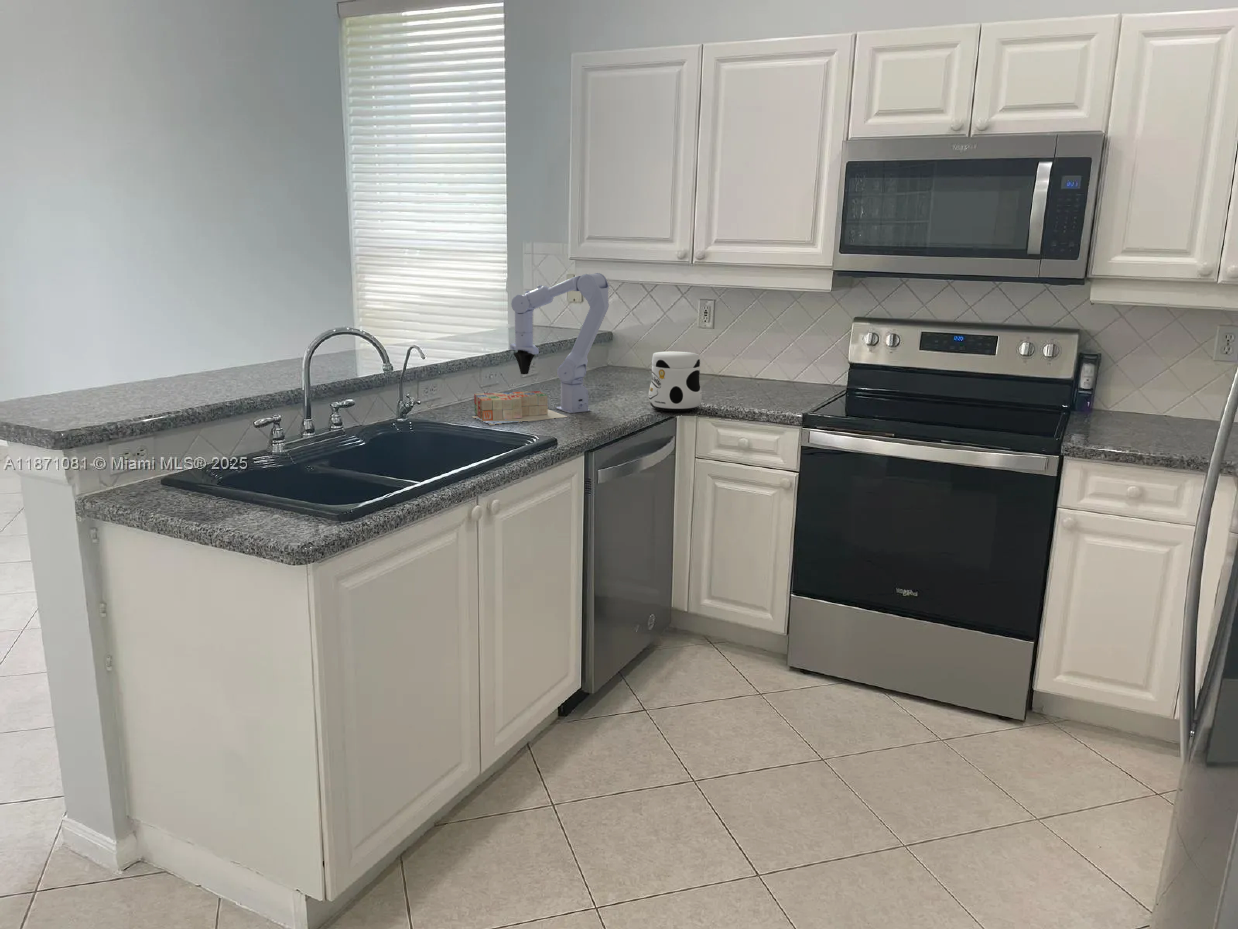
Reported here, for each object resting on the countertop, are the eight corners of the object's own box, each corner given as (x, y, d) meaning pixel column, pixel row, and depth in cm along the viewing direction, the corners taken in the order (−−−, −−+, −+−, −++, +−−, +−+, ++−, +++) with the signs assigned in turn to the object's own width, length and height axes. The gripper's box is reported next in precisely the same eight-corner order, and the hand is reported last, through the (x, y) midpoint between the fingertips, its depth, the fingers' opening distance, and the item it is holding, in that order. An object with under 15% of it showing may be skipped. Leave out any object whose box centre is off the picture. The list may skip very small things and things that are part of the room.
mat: (567, 417, 279) (567, 416, 279) (490, 425, 266) (490, 424, 266) (546, 409, 291) (546, 408, 291) (471, 417, 278) (471, 416, 278)
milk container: (637, 408, 294) (638, 353, 290) (672, 402, 306) (674, 349, 302) (676, 416, 282) (678, 359, 278) (712, 409, 294) (714, 354, 290)
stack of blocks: (539, 390, 288) (550, 396, 277) (539, 409, 290) (550, 416, 279) (473, 393, 281) (482, 400, 270) (474, 413, 282) (482, 421, 271)
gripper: (546, 333, 288) (546, 375, 292) (522, 329, 300) (523, 370, 303) (527, 334, 284) (528, 377, 288) (504, 330, 295) (505, 371, 299)
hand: (524, 373), depth 295 cm, fingers closed
